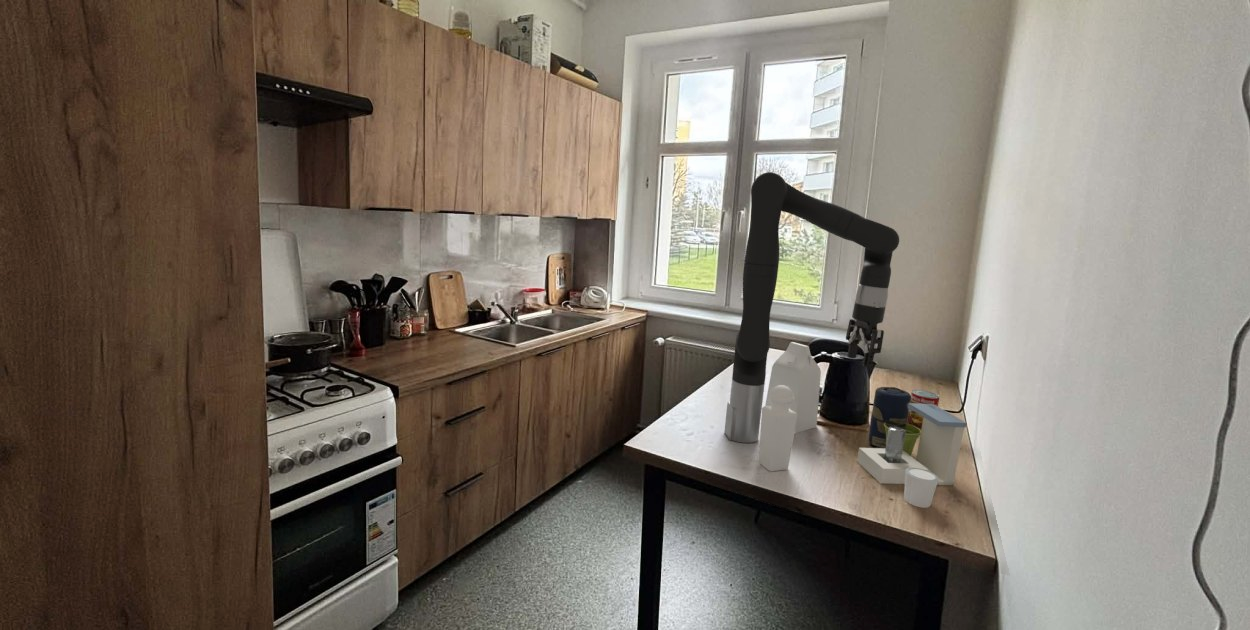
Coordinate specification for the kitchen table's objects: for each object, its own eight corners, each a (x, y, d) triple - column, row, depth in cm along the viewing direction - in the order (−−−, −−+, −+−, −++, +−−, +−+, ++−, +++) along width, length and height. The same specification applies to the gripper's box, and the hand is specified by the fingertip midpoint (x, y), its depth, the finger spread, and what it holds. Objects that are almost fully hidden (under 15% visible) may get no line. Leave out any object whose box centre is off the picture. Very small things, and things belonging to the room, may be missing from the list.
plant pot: (904, 466, 144) (910, 436, 142) (872, 452, 151) (877, 423, 150) (922, 460, 149) (928, 430, 147) (890, 447, 156) (895, 419, 155)
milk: (816, 426, 168) (827, 347, 163) (793, 433, 162) (804, 350, 157) (785, 414, 178) (795, 338, 173) (762, 419, 171) (772, 341, 167)
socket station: (881, 484, 133) (892, 420, 130) (856, 460, 146) (865, 401, 142) (954, 486, 134) (966, 422, 131) (922, 462, 147) (933, 404, 144)
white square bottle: (775, 459, 143) (785, 380, 139) (791, 470, 137) (801, 389, 133) (755, 461, 141) (764, 382, 137) (769, 473, 135) (780, 390, 131)
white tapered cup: (902, 504, 124) (907, 476, 122) (899, 491, 130) (903, 464, 129) (936, 512, 121) (941, 483, 120) (930, 498, 128) (936, 471, 126)
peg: (887, 476, 138) (894, 432, 135) (878, 468, 142) (885, 426, 139) (901, 476, 138) (909, 432, 136) (893, 469, 142) (900, 426, 140)
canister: (900, 455, 150) (911, 395, 147) (864, 446, 155) (874, 387, 152) (904, 445, 158) (914, 387, 155) (869, 436, 163) (878, 380, 160)
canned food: (901, 427, 173) (907, 392, 170) (911, 422, 178) (917, 388, 176) (927, 435, 167) (934, 399, 165) (936, 430, 172) (943, 395, 170)
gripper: (844, 297, 146) (833, 353, 150) (870, 306, 133) (858, 369, 136) (870, 299, 147) (859, 356, 150) (899, 309, 133) (886, 371, 136)
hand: (859, 362), depth 143 cm, fingers open, 8 cm apart
